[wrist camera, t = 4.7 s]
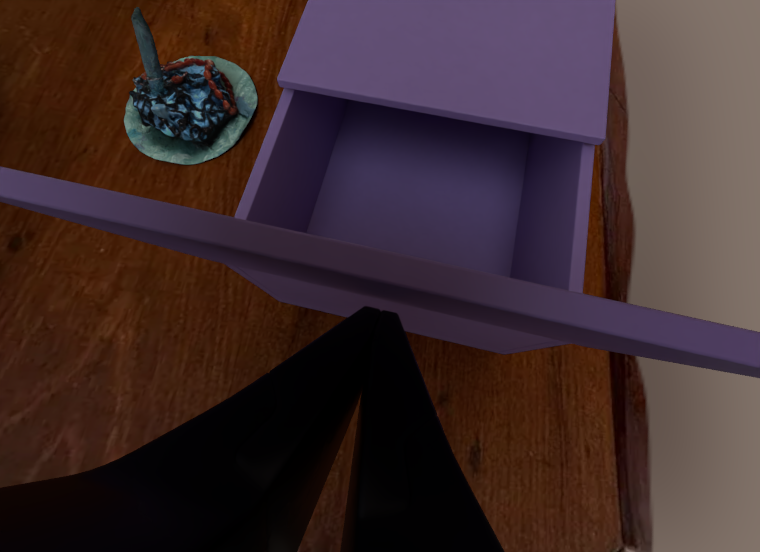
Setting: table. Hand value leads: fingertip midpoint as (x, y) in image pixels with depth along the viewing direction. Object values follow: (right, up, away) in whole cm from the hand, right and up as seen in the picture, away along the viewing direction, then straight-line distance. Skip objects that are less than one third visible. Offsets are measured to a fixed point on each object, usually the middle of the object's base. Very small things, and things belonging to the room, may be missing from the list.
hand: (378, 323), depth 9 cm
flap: (0, +1, -1) cm, 1 cm away
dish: (-13, +13, +15) cm, 24 cm away
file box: (+2, +5, +13) cm, 14 cm away
